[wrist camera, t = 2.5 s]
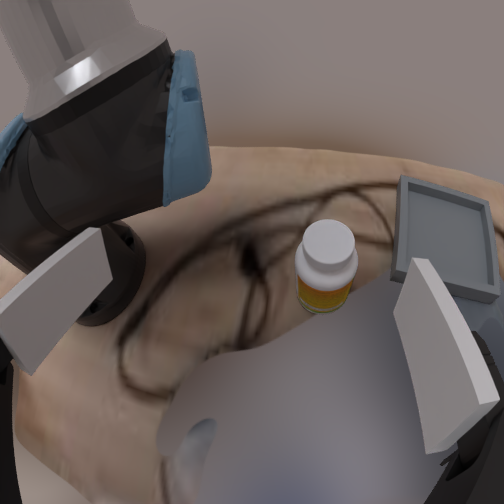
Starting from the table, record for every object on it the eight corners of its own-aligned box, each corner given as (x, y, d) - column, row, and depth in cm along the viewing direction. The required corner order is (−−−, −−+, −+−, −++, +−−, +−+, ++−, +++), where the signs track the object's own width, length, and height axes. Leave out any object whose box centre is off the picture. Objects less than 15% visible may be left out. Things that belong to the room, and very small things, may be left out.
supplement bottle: (353, 309, 27) (374, 263, 19) (302, 320, 27) (302, 280, 19) (339, 263, 30) (351, 206, 22) (291, 273, 30) (286, 218, 22)
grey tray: (389, 280, 28) (395, 269, 26) (396, 187, 34) (400, 174, 32) (489, 304, 24) (500, 295, 21) (481, 212, 30) (488, 201, 28)
